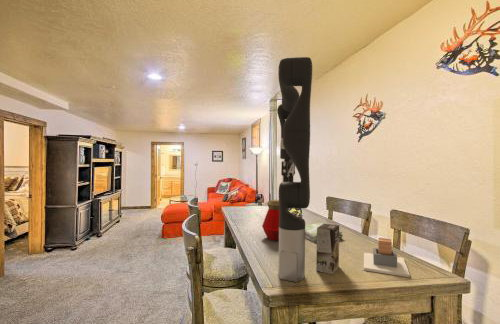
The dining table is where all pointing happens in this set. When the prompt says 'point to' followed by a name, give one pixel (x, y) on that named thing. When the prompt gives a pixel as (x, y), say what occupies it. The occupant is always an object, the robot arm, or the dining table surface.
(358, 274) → the dining table surface
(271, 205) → the bottle
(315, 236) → the towel
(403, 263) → the socket stand
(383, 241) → the peg
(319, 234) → the coffee box
